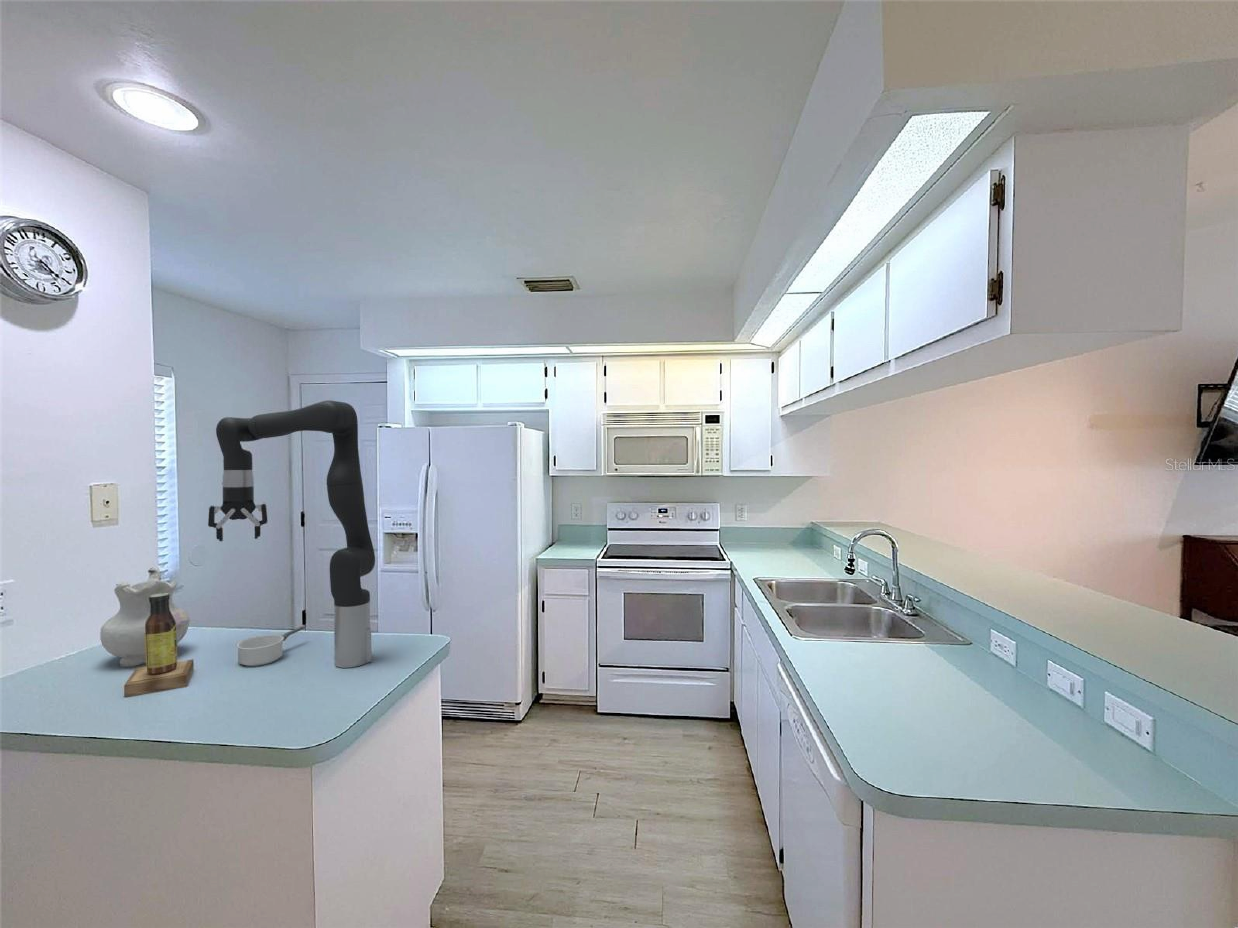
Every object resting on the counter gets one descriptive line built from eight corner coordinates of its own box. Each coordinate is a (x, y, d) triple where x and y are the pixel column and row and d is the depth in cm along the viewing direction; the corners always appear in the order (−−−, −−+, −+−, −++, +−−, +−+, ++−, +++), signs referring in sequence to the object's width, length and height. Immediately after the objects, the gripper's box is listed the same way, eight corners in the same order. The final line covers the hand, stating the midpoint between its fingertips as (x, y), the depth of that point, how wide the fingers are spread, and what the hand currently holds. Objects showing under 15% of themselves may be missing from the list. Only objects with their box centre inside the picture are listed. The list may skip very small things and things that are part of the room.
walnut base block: (193, 669, 148) (193, 658, 148) (186, 686, 138) (186, 673, 138) (136, 679, 142) (135, 667, 142) (124, 697, 132) (124, 684, 132)
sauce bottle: (182, 668, 141) (181, 593, 141) (153, 677, 136) (152, 599, 135) (168, 663, 144) (168, 590, 144) (140, 672, 138) (139, 596, 138)
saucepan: (318, 646, 167) (317, 628, 167) (256, 670, 148) (256, 650, 148) (290, 641, 171) (290, 624, 171) (226, 665, 152) (226, 645, 152)
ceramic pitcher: (106, 657, 160) (95, 575, 158) (189, 637, 173) (180, 561, 171) (103, 681, 144) (91, 590, 142) (195, 657, 157) (185, 573, 155)
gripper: (267, 483, 166) (267, 536, 166) (209, 485, 158) (210, 539, 159) (266, 485, 160) (267, 539, 160) (206, 486, 152) (207, 543, 152)
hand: (238, 539), depth 159 cm, fingers open, 8 cm apart
